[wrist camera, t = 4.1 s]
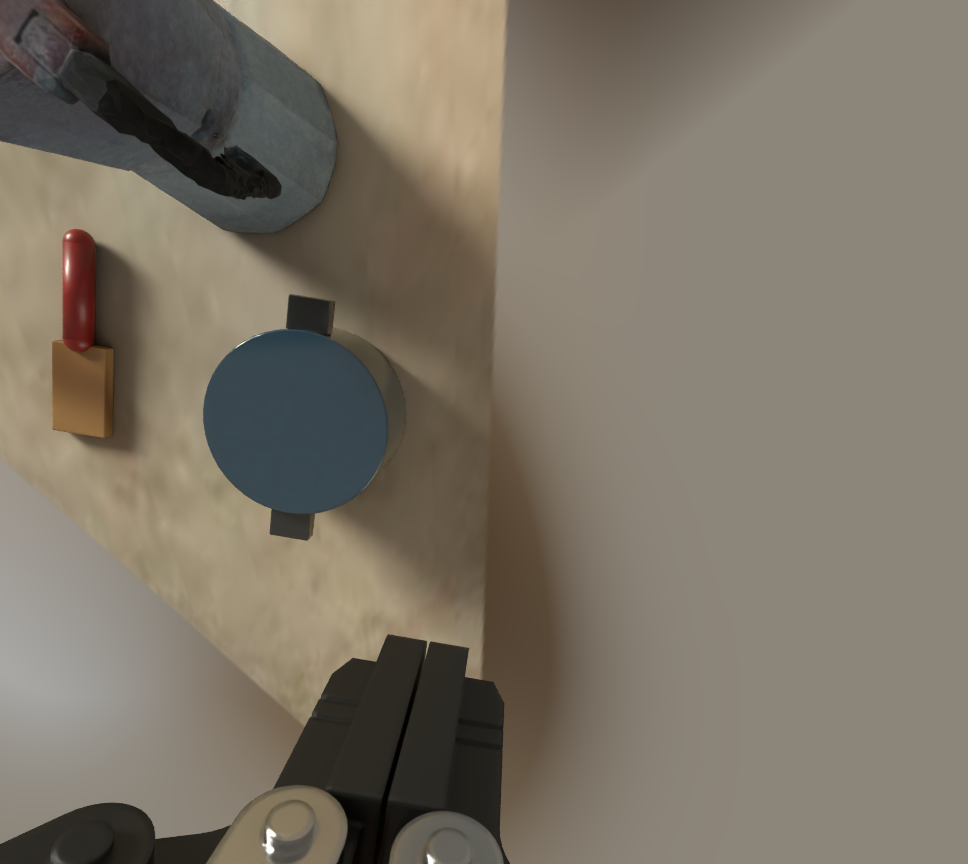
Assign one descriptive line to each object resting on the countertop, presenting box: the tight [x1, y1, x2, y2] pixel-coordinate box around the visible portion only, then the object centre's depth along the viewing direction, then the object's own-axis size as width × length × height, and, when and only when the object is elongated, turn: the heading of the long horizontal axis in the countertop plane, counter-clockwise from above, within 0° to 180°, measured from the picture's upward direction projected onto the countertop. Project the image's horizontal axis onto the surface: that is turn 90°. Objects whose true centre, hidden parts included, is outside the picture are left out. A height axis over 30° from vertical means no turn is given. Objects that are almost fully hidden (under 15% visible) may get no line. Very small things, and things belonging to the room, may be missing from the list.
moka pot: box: [0, 0, 337, 233], centre depth 20 cm, size 10×15×20 cm, turn 53°
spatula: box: [52, 229, 114, 438], centre depth 31 cm, size 11×3×1 cm, turn 171°
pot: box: [203, 294, 406, 541], centre depth 30 cm, size 9×12×4 cm
